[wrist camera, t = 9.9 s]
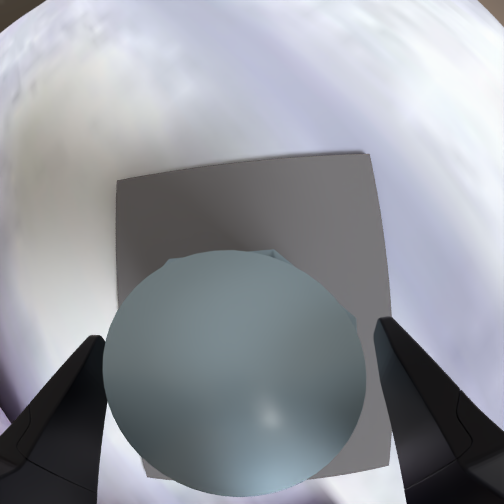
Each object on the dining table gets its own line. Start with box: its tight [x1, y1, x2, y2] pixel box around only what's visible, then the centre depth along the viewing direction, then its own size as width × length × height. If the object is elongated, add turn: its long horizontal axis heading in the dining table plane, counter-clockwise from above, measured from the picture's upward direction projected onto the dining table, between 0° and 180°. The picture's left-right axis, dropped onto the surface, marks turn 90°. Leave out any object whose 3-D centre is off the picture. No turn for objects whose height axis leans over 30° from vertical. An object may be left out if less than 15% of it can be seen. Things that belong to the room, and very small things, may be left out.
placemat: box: [116, 154, 392, 480], centre depth 18 cm, size 20×16×1 cm
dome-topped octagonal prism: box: [103, 249, 366, 497], centre depth 12 cm, size 7×7×10 cm
